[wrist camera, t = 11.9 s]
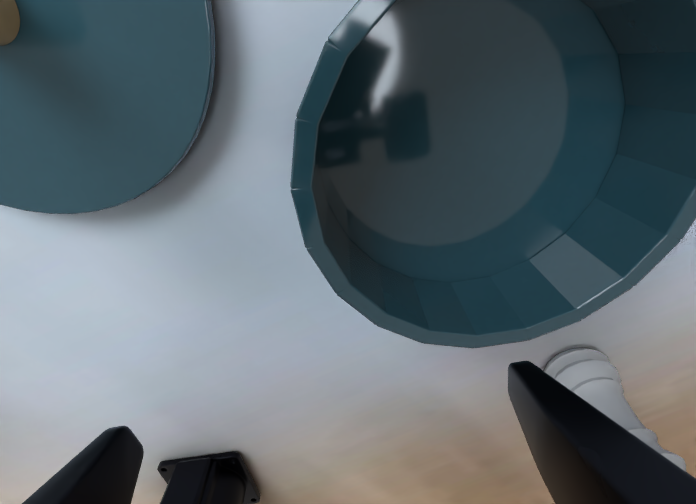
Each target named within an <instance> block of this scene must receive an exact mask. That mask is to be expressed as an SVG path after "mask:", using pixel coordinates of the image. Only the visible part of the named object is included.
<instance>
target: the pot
mask: <svg viewBox="0 0 696 504" xmlns="http://www.w3.org/2000/svg"><path fill="white" fill-rule="evenodd" d="M291 194H292V198H293V201H294V205H295V209H296V213H297V217H298V221H299V225H300V229H301V232H302V236H303V240H304V244H305V247H306V248H307V251H308V252H309V254H310V255H311V257H312V258H313V260H314V261H315V263H316V264H317V266H318V267H319V269H320V270H321V272H322V273H323V275H324V276H325V278H326V279H327V281H328V283H329V284H330V286H331V287H332V289H333V290H334V292H335V293H337V295H338V296H339V297H341V298H342V299H343V300H344V301H346V302H347V303H348V304H350V305H351V306H352V307H353V308H355V309H356V310H357V311H359V312H360V313H361V314H362V315H364V316H365V317H366V318H367V319H369V320H370V321H371V322H373V323H374V324H375V325H377V326H378V327H381V328H384V329H386V330H389V331H392V332H394V333H397V334H399V335H402V336H405V337H407V338H410V339H413V340H415V341H418V342H421V343H424V344H434V345H444V346H455V347H465V348H480V347H487V346H494V345H501V344H508V343H515V342H522V341H527V340H531V339H534V338H537V337H539V336H542V335H544V334H547V333H550V332H552V331H555V330H558V329H560V328H563V327H566V326H568V325H571V324H574V323H576V322H579V321H581V319H584V318H586V317H587V316H589V315H590V314H592V313H594V312H595V311H597V310H598V309H600V308H601V307H603V306H605V305H606V304H608V303H609V302H611V301H612V300H614V299H616V298H617V297H619V296H620V295H622V294H623V293H625V292H627V291H628V290H630V289H631V288H632V287H633V286H635V285H636V284H637V283H638V282H640V281H641V280H642V279H643V278H644V277H645V276H646V275H647V274H648V273H649V272H650V271H651V270H652V269H653V268H654V267H655V266H656V265H657V264H658V263H659V262H660V261H661V260H662V259H663V258H664V257H665V256H666V255H667V254H668V253H669V252H670V251H671V250H672V249H673V248H674V247H675V246H676V245H677V244H678V243H679V242H680V241H681V240H680V239H683V237H684V236H685V234H686V233H687V231H688V230H689V228H690V226H691V225H692V223H693V222H694V220H695V219H696V0H358V1H357V3H356V4H355V5H354V6H353V8H352V9H351V10H350V11H349V12H348V14H347V15H346V16H345V17H344V19H343V20H342V21H341V22H340V24H339V25H338V26H337V27H336V28H335V30H334V31H333V32H332V33H331V35H330V36H329V37H328V41H326V42H325V45H324V47H323V50H322V52H321V55H320V57H319V60H318V62H317V65H316V67H315V70H314V72H313V75H312V77H311V80H310V82H309V85H308V87H307V89H306V92H305V94H304V97H303V99H302V102H301V104H300V107H299V109H298V112H297V118H296V120H295V130H294V144H293V158H292V172H291Z"/></svg>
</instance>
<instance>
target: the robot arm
mask: <svg viewBox="0 0 696 504" xmlns="http://www.w3.org/2000/svg"><path fill="white" fill-rule="evenodd" d="M508 392H509V396H510V400H511V402H512V405H513V407H514V410H515V412H516V415H517V417H518V420H519V422H520V425H521V428H522V430H523V433H524V435H525V438H526V440H527V443H528V445H529V448H530V450H531V453H532V455H533V458H534V460H535V463H536V465H537V468H538V470H539V472H540V474H541V476H542V478H543V480H544V482H545V484H546V486H547V488H548V490H549V492H550V494H551V496H552V498H553V500H554V502H555V504H696V479H695V478H694V477H693V476H691V475H690V474H688V473H687V472H685V471H684V470H683V469H681V468H680V467H678V466H677V465H676V464H674V463H673V462H671V461H670V460H668V459H667V458H666V457H664V456H663V455H661V454H660V453H659V452H657V451H656V450H654V449H653V448H651V447H650V446H649V445H647V444H646V443H644V442H643V441H642V440H640V439H639V438H637V437H636V436H635V435H633V434H632V433H630V432H629V431H627V430H626V429H625V428H623V427H622V426H620V425H619V424H618V423H616V422H615V421H613V420H612V419H610V418H609V417H608V416H606V415H605V414H603V413H602V412H601V411H599V410H598V409H596V408H595V407H593V406H592V405H591V404H589V403H588V402H586V401H585V400H584V399H582V398H581V397H579V396H578V395H576V394H575V393H574V392H572V391H571V390H569V389H568V388H567V387H565V386H564V385H562V384H561V383H559V382H558V381H557V380H555V379H554V378H552V377H551V376H550V375H548V374H547V373H545V372H544V371H542V370H541V369H540V368H538V367H537V366H535V365H534V364H533V363H531V362H529V361H521V362H515V363H511V364H510V365H509V367H508ZM142 459H143V446H142V445H141V443H140V442H139V440H138V439H137V438H136V436H135V435H134V434H133V432H132V431H131V430H130V429H129V428H128V427H127V426H119V427H113V428H109V429H107V430H105V431H104V432H103V433H102V434H101V435H99V436H98V437H97V438H96V439H95V440H94V441H93V442H91V443H90V444H89V445H88V446H87V447H86V448H85V449H84V450H82V451H81V452H80V453H79V454H78V455H77V456H76V457H74V458H73V459H72V460H71V461H70V462H69V463H68V464H66V465H65V466H64V467H63V468H62V469H61V470H60V471H59V472H57V473H56V474H55V475H54V476H53V477H52V478H51V479H49V480H48V481H47V482H46V483H45V484H44V485H43V486H41V487H40V488H39V489H38V490H37V491H36V492H35V493H34V494H32V495H31V496H30V497H29V498H28V499H27V500H26V501H24V502H23V503H22V504H131V501H132V497H133V493H134V489H135V486H136V482H137V478H138V474H139V470H140V467H141V463H142ZM158 471H159V473H160V474H161V476H162V477H163V478H164V480H165V481H166V483H167V484H168V485H167V487H166V490H165V492H164V495H163V497H162V500H161V502H160V504H254V503H258V502H259V501H260V496H261V495H260V493H259V491H258V489H257V487H256V485H255V483H254V481H253V479H252V477H251V475H250V473H249V471H248V469H247V467H246V465H245V463H244V461H243V460H242V458H241V456H240V454H239V453H237V452H228V453H220V454H212V455H205V456H197V457H190V458H182V459H175V460H167V461H162V462H160V464H159V466H158Z"/></svg>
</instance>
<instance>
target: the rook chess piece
mask: <svg viewBox="0 0 696 504" xmlns="http://www.w3.org/2000/svg"><path fill="white" fill-rule="evenodd" d="M544 372H545V373H547V374H548V375H550V376H551V377H552V378H554V379H555V380H557V381H558V382H559V383H561V384H562V385H564V386H565V387H567V388H568V389H569V390H571V391H572V392H574V393H575V394H576V395H578V396H579V397H581V398H582V399H584V400H585V401H586V402H588V403H589V404H591V405H592V406H593V407H595V408H596V409H598V410H599V411H601V412H602V413H603V414H605V415H606V416H608V417H609V418H610V419H612V420H613V421H615V422H616V423H618V424H619V425H620V426H622V427H623V428H625V429H626V430H627V431H629V432H630V433H632V434H633V435H635V436H636V437H637V438H639V439H640V440H642V441H643V442H644V443H646V444H647V445H649V446H650V447H651V448H653V449H654V450H656V451H657V452H659V453H660V454H661V455H663V456H664V457H666V458H667V459H668V460H670V461H671V462H673V463H674V464H676V465H677V466H678V467H680V468H681V469H683V470H684V471H685V472H686V464H685V461H684V459H683V458H682V457H680V456H678V455H677V454H674V453H672V452H669V451H667V450H665V449H663V448H662V447H661V446H659V444H658V443H657V440H658V438H657V436H656V433H654V432H653V431H651V430H649V429H647V428H646V427H645V426H644V425H643V424H642V423H641V422H640V420H639V419H638V418H637V416H636V415H635V413H634V412H633V410H632V409H631V407H630V405H629V404H628V402H627V401H626V399H625V398H624V395H623V393H624V390H623V388H622V385H621V379H620V376H619V373H618V371H617V369H616V367H614V366H613V365H611V364H610V362H609V359H608V357H607V356H606V355H604V354H603V353H601V352H600V351H596V350H592V349H586V348H575V349H569V350H567V351H564V352H562V353H560V354H558V355H557V356H555V357H554V358H553V359H552V360H550V361H549V363H548V364H547V366H546V367H545V369H544Z"/></svg>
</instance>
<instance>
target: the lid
mask: <svg viewBox="0 0 696 504" xmlns="http://www.w3.org/2000/svg"><path fill="white" fill-rule="evenodd" d="M214 68H215V28H214V21H213V13H212V5H211V0H0V205H4V206H8V207H13V208H17V209H21V210H26V211H33V212H41V213H49V214H77V213H86V212H95V211H99V210H103V209H107V208H111V207H115V206H118V205H120V204H123V203H125V202H127V201H130V200H132V199H135V198H137V197H138V196H140V195H141V194H143V193H145V192H146V191H148V190H150V189H151V188H153V187H154V186H156V185H157V184H158V183H160V182H161V181H162V180H163V179H164V178H165V177H166V176H168V175H169V174H170V173H171V172H172V171H173V170H174V169H175V168H176V167H177V165H178V164H179V163H180V162H181V161H182V159H183V158H184V157H185V156H186V154H187V153H188V151H189V149H190V148H191V146H192V144H193V142H194V141H195V139H196V137H197V136H198V133H199V131H200V128H201V126H202V123H203V121H204V118H205V116H206V113H207V109H208V105H209V101H210V96H211V92H212V87H213V78H214Z"/></svg>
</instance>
